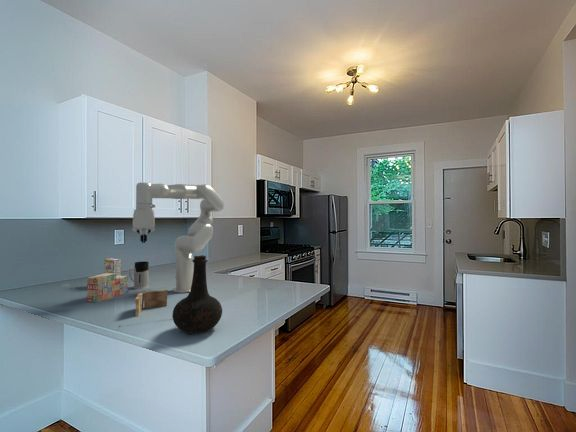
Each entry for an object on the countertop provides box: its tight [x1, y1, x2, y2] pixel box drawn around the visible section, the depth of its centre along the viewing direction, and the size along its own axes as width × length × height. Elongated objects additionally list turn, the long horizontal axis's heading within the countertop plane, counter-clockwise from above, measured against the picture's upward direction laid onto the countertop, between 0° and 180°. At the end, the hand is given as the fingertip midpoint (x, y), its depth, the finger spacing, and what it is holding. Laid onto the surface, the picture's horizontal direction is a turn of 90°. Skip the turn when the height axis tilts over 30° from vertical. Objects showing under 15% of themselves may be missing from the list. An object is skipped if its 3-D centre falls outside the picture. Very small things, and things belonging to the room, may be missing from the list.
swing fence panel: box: [135, 292, 144, 317], centre depth 133 cm, size 10×2×7 cm, turn 18°
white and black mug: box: [128, 261, 150, 290], centre depth 181 cm, size 9×14×15 cm, turn 167°
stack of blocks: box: [86, 273, 129, 303], centre depth 162 cm, size 21×6×12 cm, turn 169°
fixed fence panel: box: [142, 289, 168, 310], centre depth 142 cm, size 12×2×8 cm, turn 116°
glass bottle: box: [171, 255, 223, 334], centre depth 117 cm, size 18×18×28 cm
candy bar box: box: [103, 257, 122, 276], centre depth 186 cm, size 11×5×16 cm, turn 58°
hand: (143, 242), depth 157 cm, fingers closed
